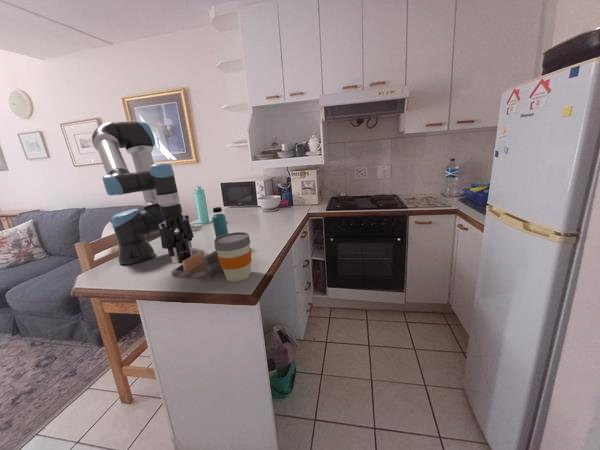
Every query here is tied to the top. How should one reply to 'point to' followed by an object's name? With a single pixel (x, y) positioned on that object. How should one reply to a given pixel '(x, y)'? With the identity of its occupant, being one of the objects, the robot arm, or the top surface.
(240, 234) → the reusable coffee cup
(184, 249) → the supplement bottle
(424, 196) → the top surface
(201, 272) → the grey stand
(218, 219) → the beverage bottle
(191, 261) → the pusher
